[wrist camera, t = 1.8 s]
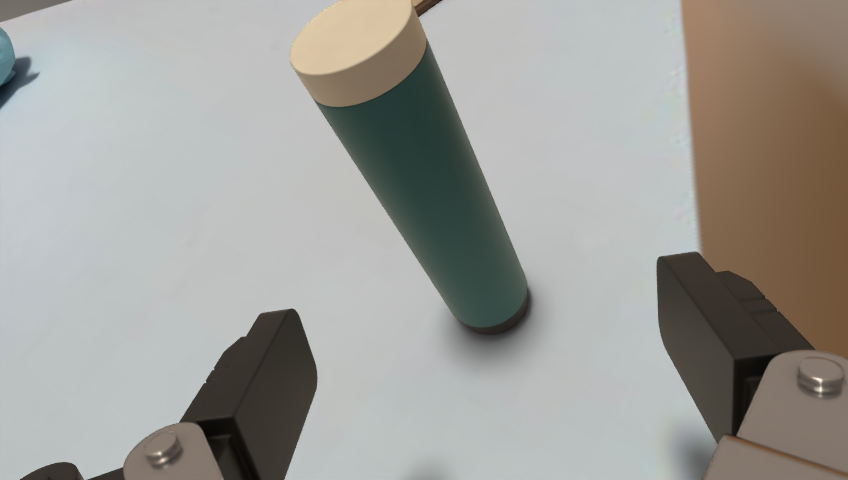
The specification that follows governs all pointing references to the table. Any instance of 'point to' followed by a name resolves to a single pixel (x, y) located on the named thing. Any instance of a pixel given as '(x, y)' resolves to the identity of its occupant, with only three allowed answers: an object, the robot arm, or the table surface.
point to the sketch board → (423, 5)
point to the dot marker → (413, 152)
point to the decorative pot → (6, 58)
